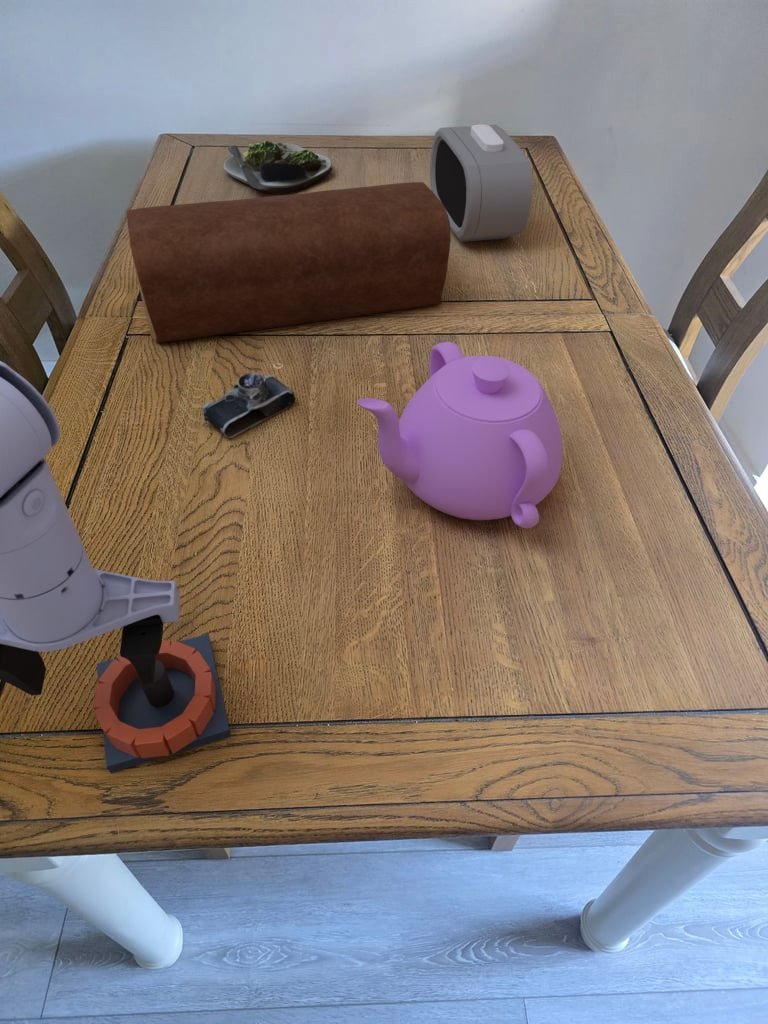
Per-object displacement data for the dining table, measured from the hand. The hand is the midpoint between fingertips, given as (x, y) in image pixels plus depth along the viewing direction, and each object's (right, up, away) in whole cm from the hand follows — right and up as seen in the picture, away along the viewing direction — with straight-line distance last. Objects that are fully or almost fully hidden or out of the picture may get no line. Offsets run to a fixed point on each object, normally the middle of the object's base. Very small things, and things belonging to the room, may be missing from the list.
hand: (94, 676), depth 51 cm
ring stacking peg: (+3, -3, +6) cm, 7 cm away
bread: (+9, +41, +46) cm, 62 cm away
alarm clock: (+35, +58, +63) cm, 93 cm away
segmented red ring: (+3, -3, +4) cm, 6 cm away
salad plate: (+2, +71, +73) cm, 102 cm away
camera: (+5, +23, +30) cm, 38 cm away
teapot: (+28, +15, +24) cm, 40 cm away
